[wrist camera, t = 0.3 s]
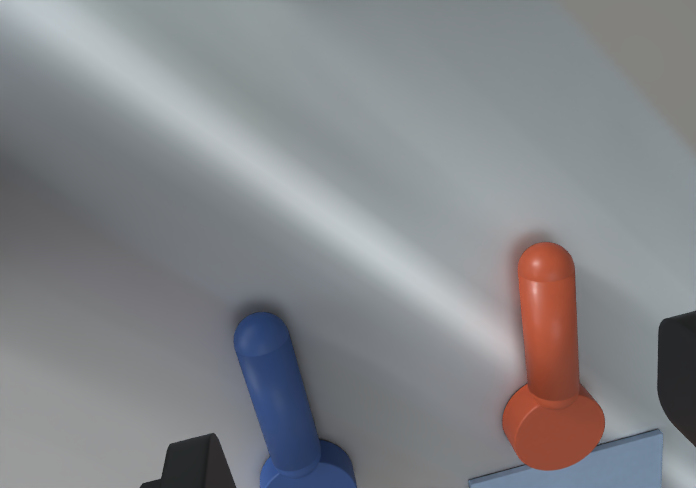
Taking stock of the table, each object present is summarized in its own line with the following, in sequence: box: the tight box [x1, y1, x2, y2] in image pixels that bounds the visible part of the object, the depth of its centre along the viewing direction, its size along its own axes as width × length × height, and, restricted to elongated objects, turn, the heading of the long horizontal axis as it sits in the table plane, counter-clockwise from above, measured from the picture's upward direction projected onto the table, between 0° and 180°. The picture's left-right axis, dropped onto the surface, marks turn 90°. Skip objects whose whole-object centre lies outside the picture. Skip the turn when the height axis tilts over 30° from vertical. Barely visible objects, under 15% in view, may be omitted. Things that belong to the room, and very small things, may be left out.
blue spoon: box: [234, 312, 357, 488], centre depth 29 cm, size 14×5×3 cm, turn 11°
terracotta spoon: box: [502, 242, 605, 471], centre depth 30 cm, size 14×5×3 cm, turn 11°
